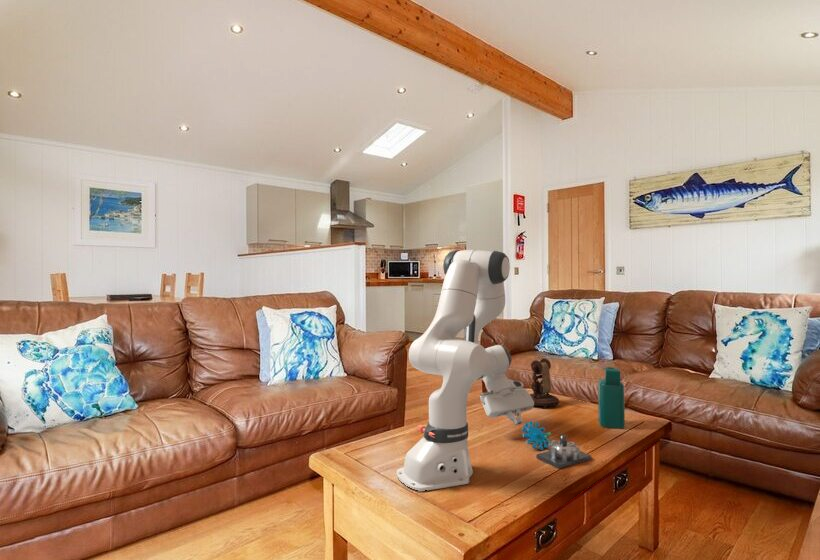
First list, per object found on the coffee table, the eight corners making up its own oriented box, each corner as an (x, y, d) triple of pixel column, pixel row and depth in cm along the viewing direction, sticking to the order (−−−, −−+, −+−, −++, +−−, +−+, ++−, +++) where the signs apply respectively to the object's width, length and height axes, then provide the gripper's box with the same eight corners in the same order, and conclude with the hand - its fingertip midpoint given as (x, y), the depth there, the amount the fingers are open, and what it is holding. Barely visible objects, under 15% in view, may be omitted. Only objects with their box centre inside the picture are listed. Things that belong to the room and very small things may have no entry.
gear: (530, 448, 142) (519, 419, 149) (521, 456, 146) (511, 428, 153) (558, 448, 146) (546, 420, 153) (548, 456, 150) (538, 428, 157)
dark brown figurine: (546, 411, 186) (546, 364, 186) (517, 404, 197) (517, 359, 197) (565, 404, 195) (565, 359, 195) (536, 397, 207) (536, 355, 207)
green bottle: (597, 420, 173) (597, 364, 173) (621, 422, 171) (620, 365, 171) (601, 429, 164) (600, 369, 164) (626, 430, 162) (625, 370, 161)
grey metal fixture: (558, 469, 131) (558, 444, 131) (536, 458, 138) (536, 435, 138) (591, 459, 137) (590, 436, 137) (568, 449, 145) (568, 427, 145)
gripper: (481, 388, 157) (499, 424, 149) (525, 381, 167) (544, 414, 158) (474, 398, 161) (491, 433, 153) (517, 390, 171) (536, 423, 162)
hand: (519, 423), depth 156 cm, fingers closed
